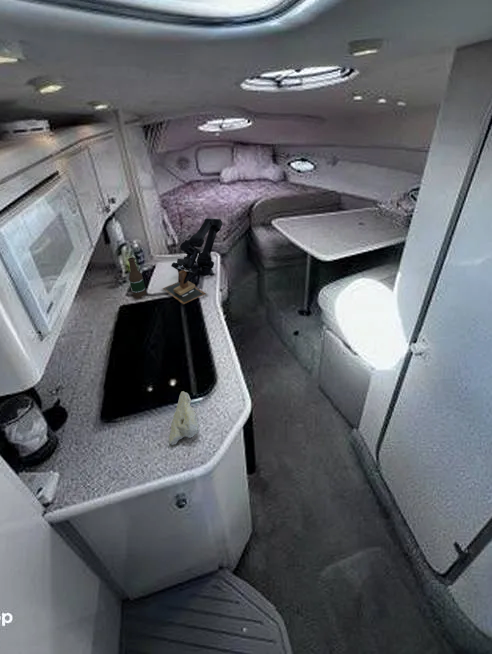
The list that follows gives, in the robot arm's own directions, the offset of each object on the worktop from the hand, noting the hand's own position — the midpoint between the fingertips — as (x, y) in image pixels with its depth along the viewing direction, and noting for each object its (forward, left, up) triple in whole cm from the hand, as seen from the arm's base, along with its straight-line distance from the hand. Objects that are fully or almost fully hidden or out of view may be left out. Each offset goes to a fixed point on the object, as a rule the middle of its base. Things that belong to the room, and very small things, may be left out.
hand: (181, 282), depth 188 cm
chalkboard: (-2, -2, -8) cm, 8 cm away
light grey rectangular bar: (+1, +3, -7) cm, 7 cm away
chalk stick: (-4, +3, -7) cm, 8 cm away
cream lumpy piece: (+58, +66, -8) cm, 88 cm away
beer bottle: (+15, -21, -8) cm, 27 cm away
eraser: (-2, -1, -6) cm, 7 cm away
